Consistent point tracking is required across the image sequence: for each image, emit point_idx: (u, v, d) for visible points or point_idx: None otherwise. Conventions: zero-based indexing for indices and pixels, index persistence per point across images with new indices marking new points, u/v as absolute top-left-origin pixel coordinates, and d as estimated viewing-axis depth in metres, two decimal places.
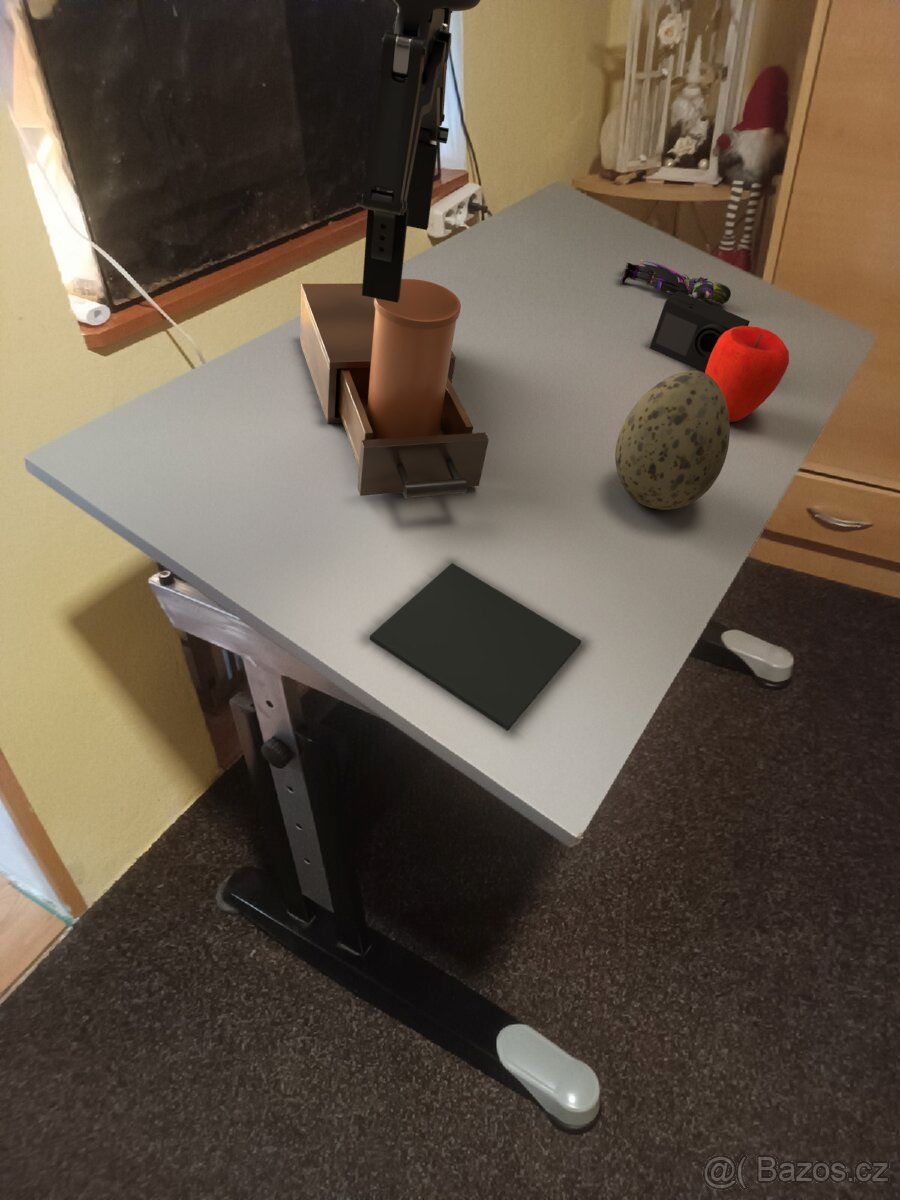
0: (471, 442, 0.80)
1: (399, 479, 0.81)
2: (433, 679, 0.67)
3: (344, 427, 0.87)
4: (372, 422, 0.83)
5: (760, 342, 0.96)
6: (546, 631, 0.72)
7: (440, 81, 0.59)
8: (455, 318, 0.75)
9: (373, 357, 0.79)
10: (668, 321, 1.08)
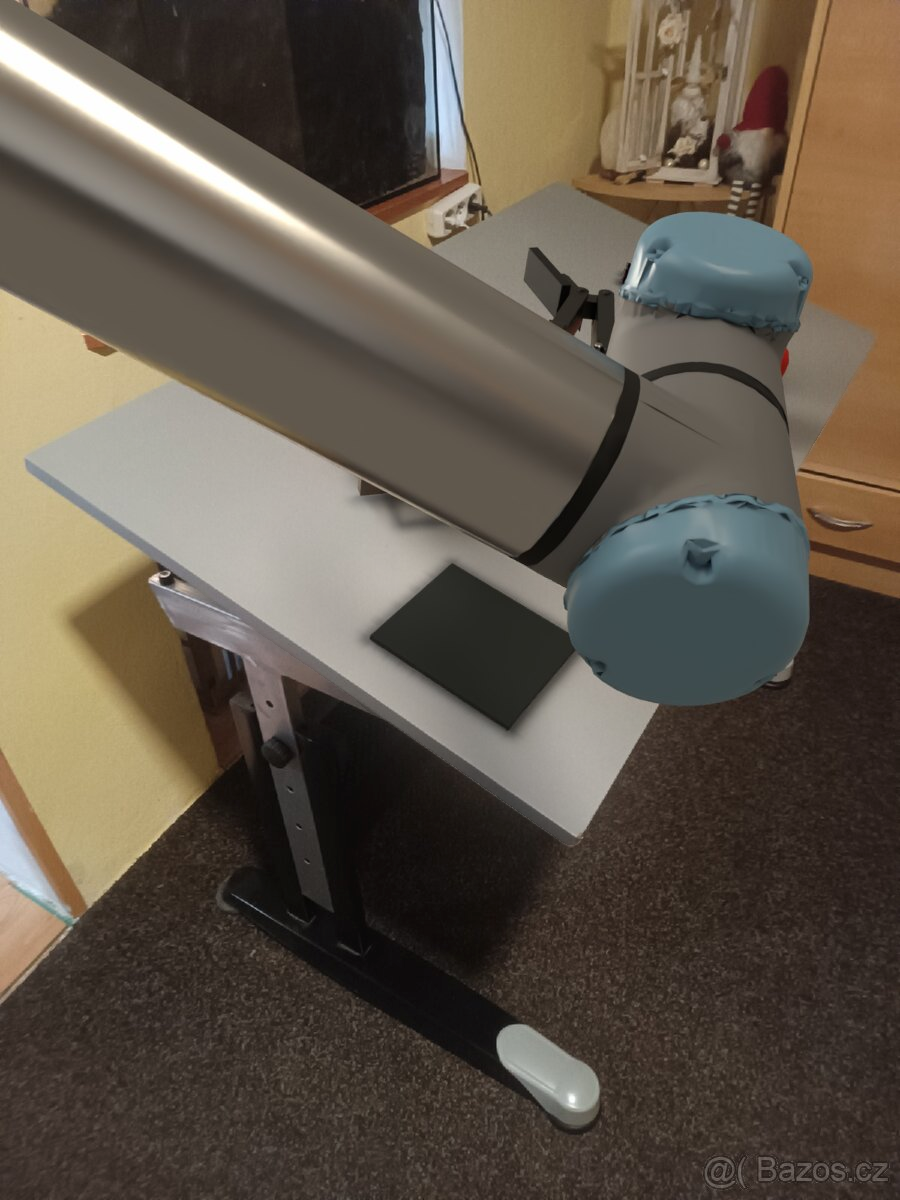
0: None
1: None
2: (433, 679, 0.67)
3: None
4: None
5: None
6: (546, 631, 0.72)
7: None
8: None
9: None
10: None
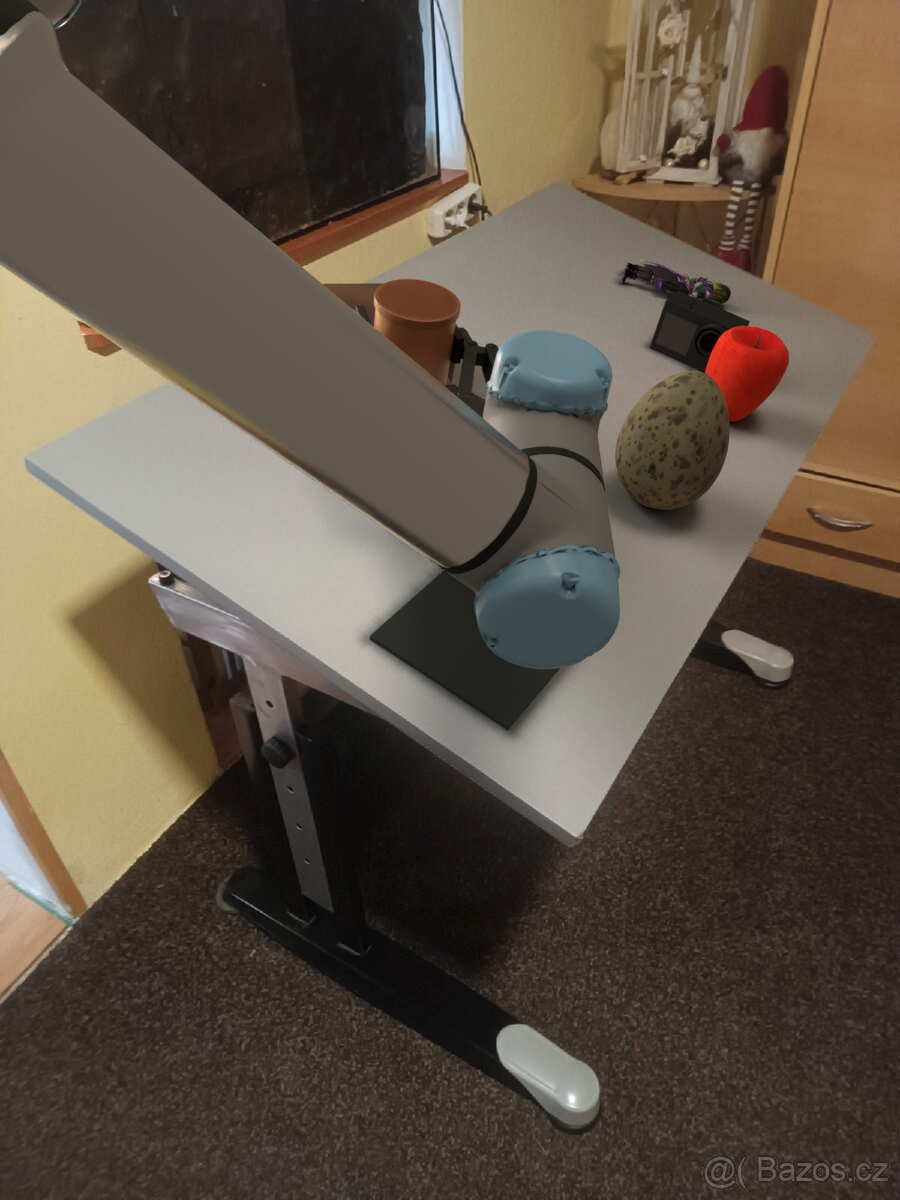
0: None
1: None
2: (433, 679, 0.67)
3: None
4: None
5: (760, 342, 0.96)
6: None
7: None
8: (455, 318, 0.75)
9: None
10: (668, 321, 1.08)
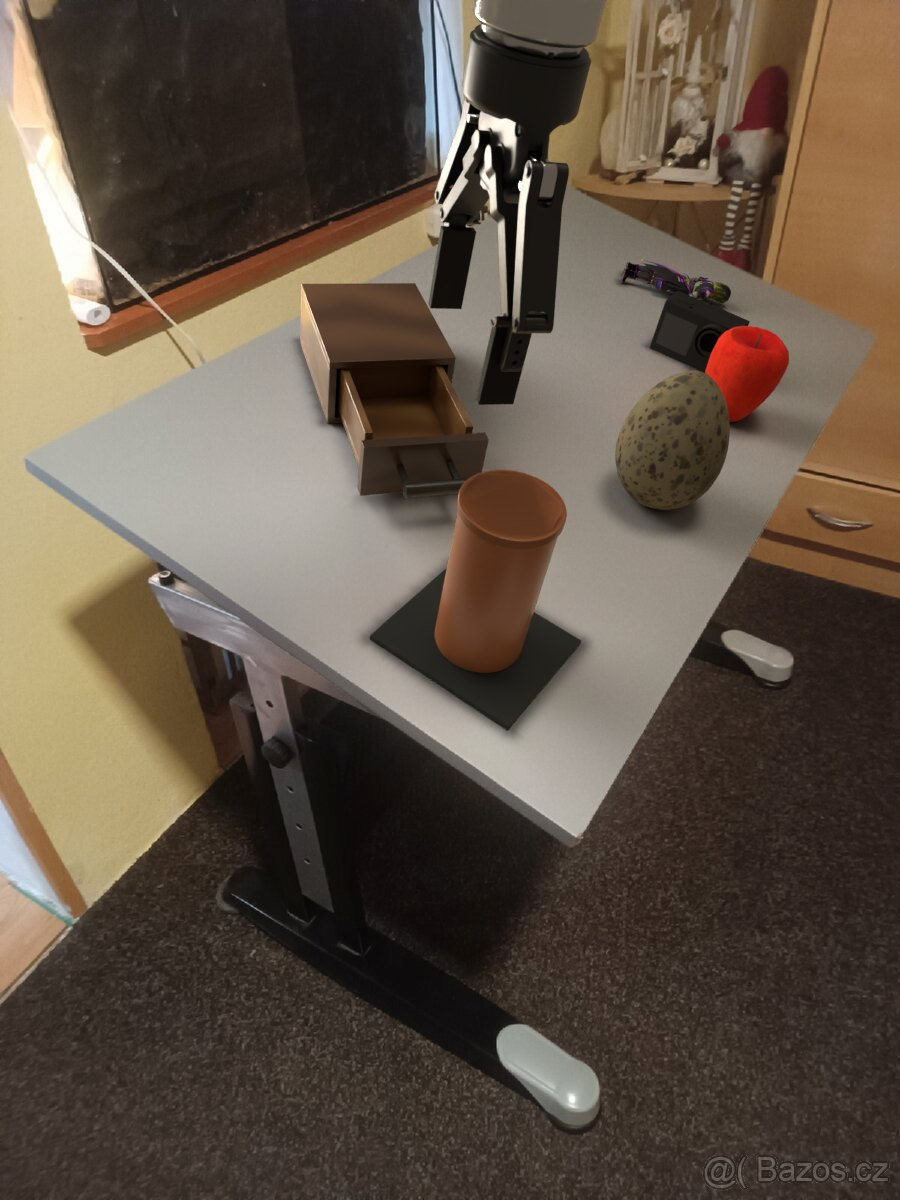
0: (471, 442, 0.80)
1: (399, 479, 0.81)
2: (433, 679, 0.67)
3: (344, 427, 0.87)
4: (446, 634, 0.67)
5: (760, 342, 0.96)
6: (546, 631, 0.72)
7: None
8: (561, 530, 0.59)
9: (452, 567, 0.63)
10: (668, 321, 1.08)
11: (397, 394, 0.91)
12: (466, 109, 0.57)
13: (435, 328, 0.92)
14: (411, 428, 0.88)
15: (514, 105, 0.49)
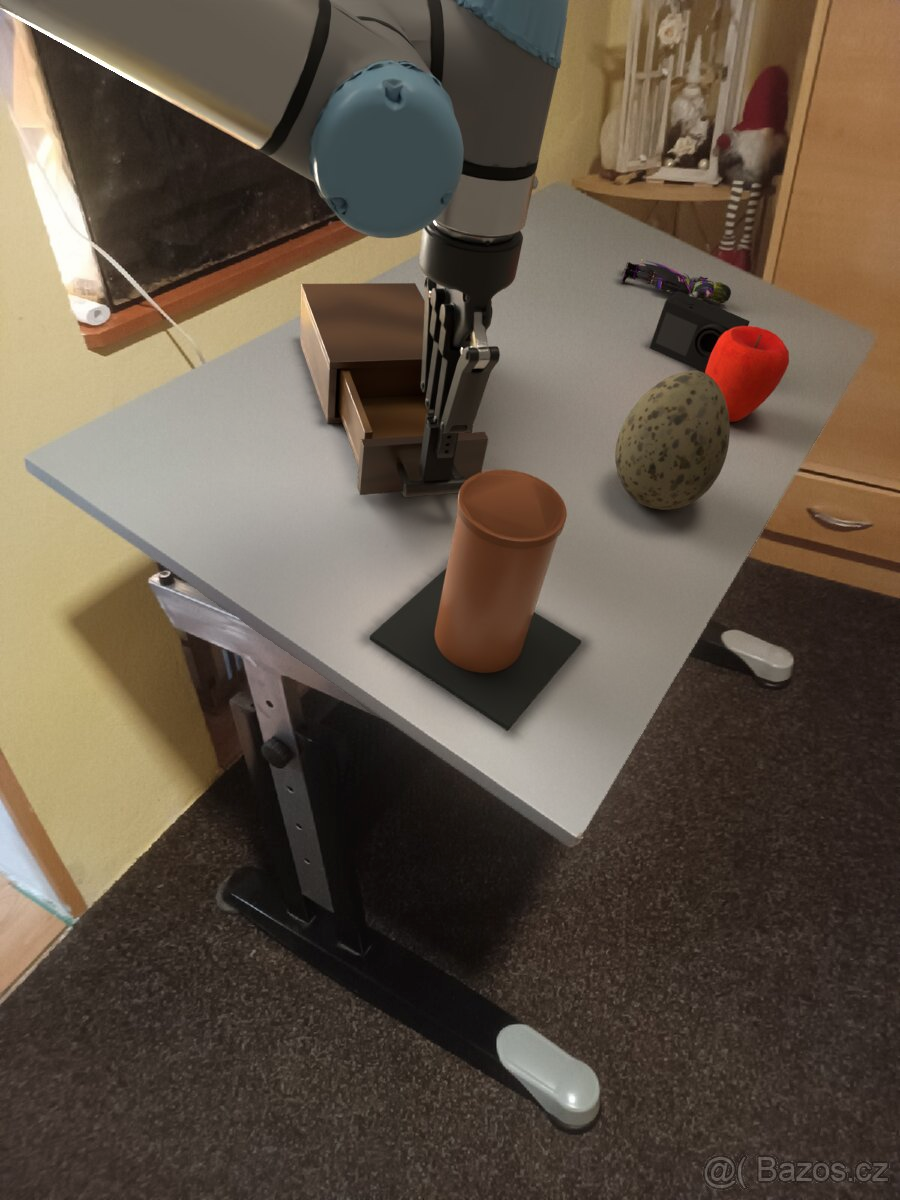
0: (471, 441, 0.80)
1: (399, 478, 0.81)
2: (433, 679, 0.67)
3: (344, 426, 0.87)
4: (446, 634, 0.67)
5: (760, 342, 0.96)
6: (546, 631, 0.72)
7: None
8: (561, 530, 0.59)
9: (452, 567, 0.63)
10: (668, 321, 1.08)
11: (397, 393, 0.91)
12: (426, 291, 0.69)
13: None
14: (411, 427, 0.88)
15: (460, 280, 0.60)
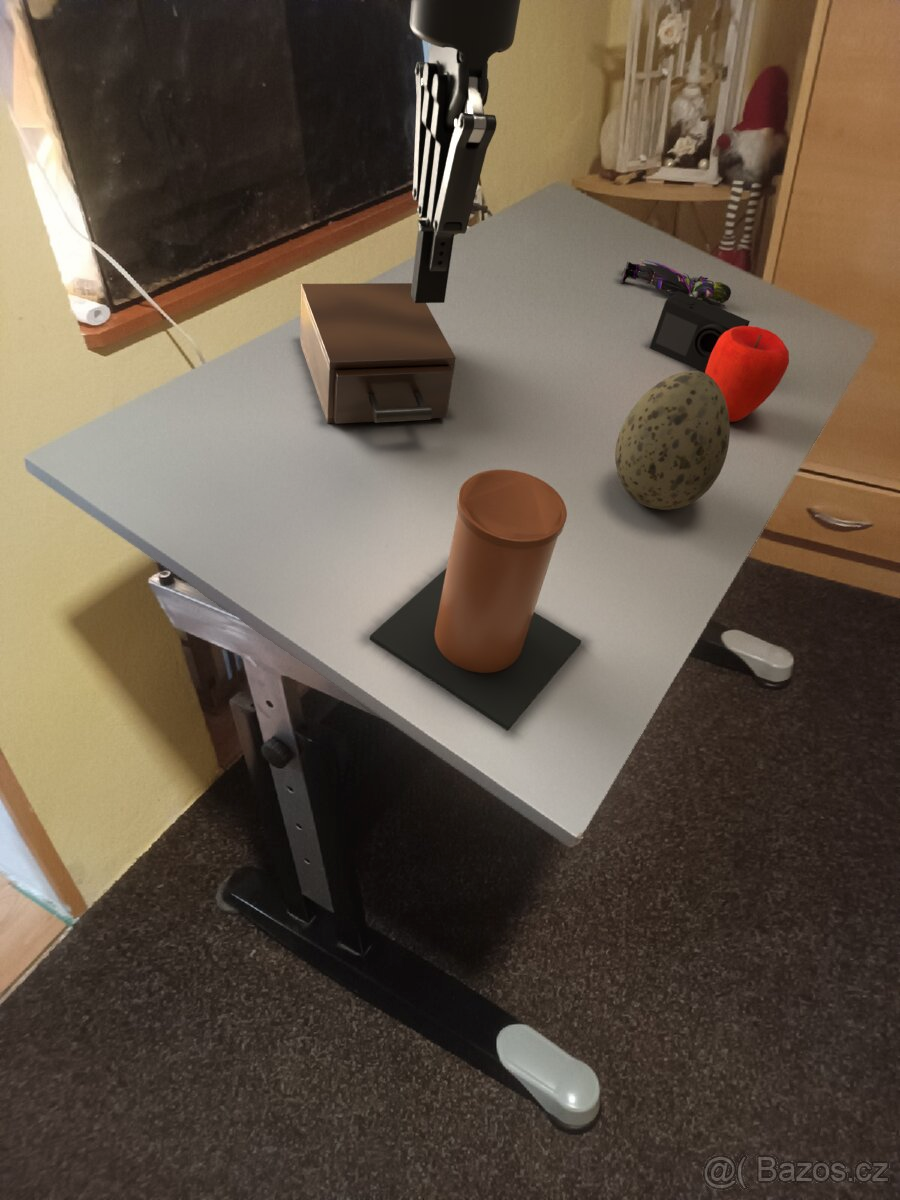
0: (436, 374, 0.87)
1: (371, 408, 0.88)
2: (433, 679, 0.67)
3: None
4: (446, 634, 0.67)
5: (760, 342, 0.96)
6: (546, 631, 0.72)
7: None
8: (561, 530, 0.59)
9: (452, 567, 0.63)
10: (668, 321, 1.08)
11: None
12: (418, 80, 0.65)
13: (435, 328, 0.92)
14: None
15: (454, 33, 0.56)
